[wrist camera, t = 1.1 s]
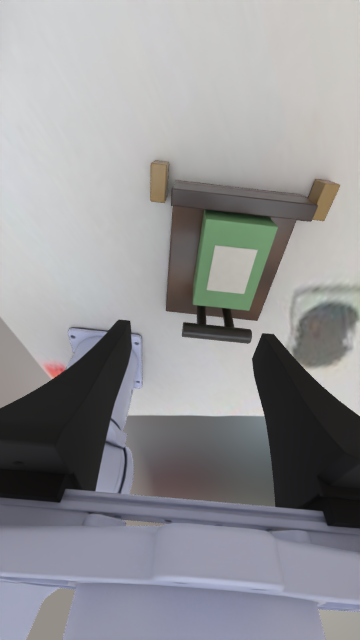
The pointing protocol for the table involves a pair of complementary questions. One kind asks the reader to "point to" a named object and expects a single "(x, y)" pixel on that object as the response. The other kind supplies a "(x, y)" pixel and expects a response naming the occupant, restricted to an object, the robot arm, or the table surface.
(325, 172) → the table surface
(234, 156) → the table surface
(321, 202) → the hinge cheeks
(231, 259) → the packet
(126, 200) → the table surface
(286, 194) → the stand
